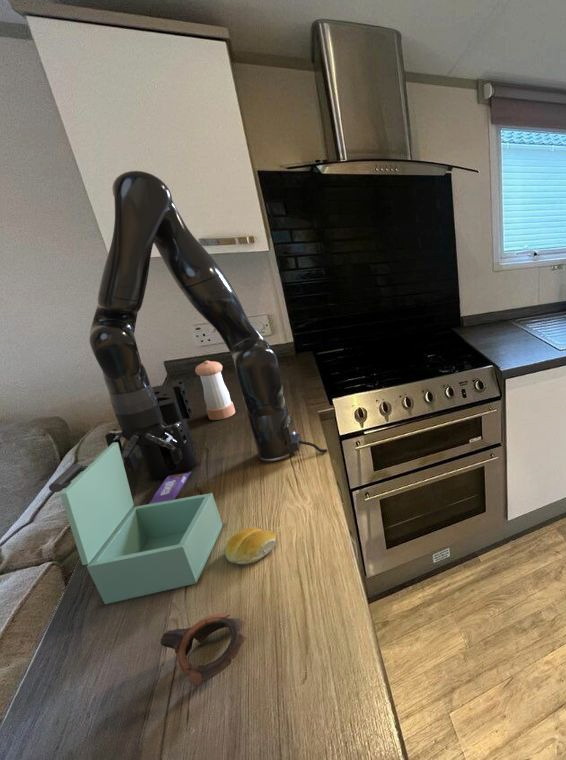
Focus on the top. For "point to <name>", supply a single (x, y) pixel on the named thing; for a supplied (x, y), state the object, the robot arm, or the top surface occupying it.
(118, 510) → the cold box lid
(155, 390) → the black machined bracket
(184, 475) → the snack package
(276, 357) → the robot arm
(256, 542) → the bread roll
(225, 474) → the top surface
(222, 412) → the pepper shaker
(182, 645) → the brown ring with stub
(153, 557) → the box
